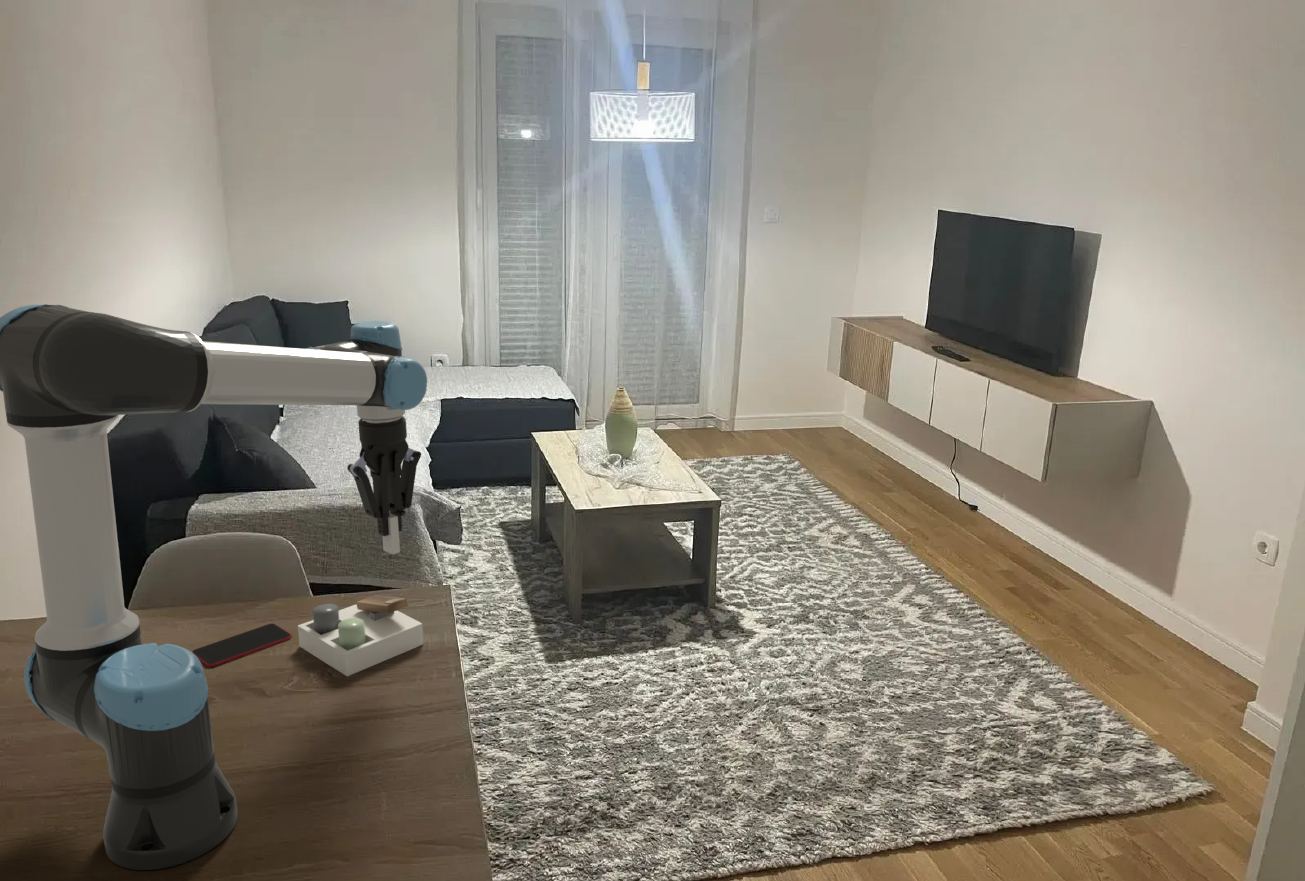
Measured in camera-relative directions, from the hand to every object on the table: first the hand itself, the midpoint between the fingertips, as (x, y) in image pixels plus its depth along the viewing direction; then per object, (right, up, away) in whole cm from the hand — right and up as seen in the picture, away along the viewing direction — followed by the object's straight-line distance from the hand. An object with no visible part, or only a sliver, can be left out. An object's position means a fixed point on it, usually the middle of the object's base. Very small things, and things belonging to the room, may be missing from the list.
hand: (391, 551), depth 167 cm
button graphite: (-12, -14, +3) cm, 19 cm away
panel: (-6, -17, +4) cm, 18 cm away
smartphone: (-27, -17, +4) cm, 32 cm away
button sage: (-6, -15, -2) cm, 17 cm away
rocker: (-3, -10, +6) cm, 12 cm away
